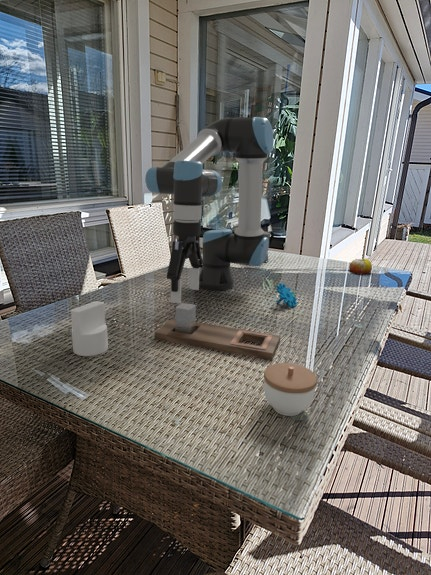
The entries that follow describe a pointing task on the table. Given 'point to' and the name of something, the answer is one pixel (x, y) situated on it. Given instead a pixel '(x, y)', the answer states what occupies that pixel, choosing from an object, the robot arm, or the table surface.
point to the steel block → (185, 318)
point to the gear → (286, 295)
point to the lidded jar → (289, 388)
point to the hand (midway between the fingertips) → (185, 295)
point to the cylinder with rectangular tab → (89, 329)
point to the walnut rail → (222, 339)
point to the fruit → (360, 266)
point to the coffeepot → (267, 234)
